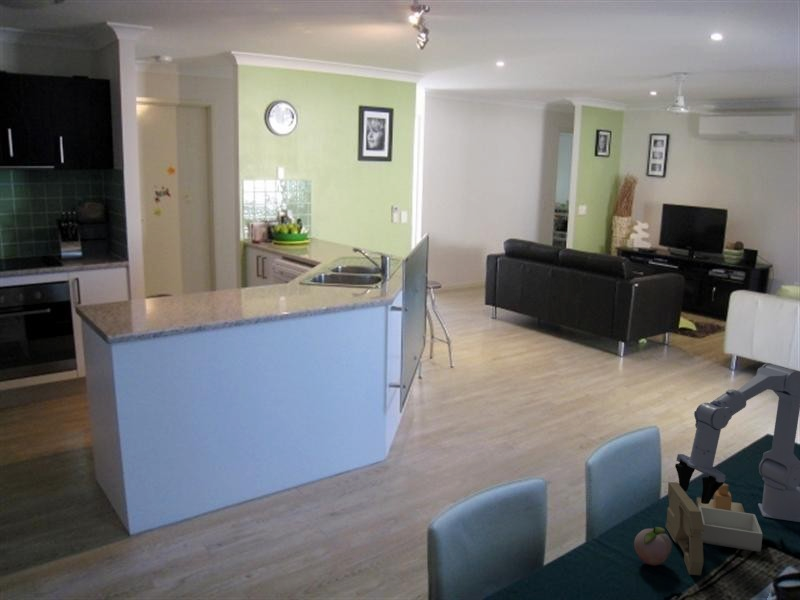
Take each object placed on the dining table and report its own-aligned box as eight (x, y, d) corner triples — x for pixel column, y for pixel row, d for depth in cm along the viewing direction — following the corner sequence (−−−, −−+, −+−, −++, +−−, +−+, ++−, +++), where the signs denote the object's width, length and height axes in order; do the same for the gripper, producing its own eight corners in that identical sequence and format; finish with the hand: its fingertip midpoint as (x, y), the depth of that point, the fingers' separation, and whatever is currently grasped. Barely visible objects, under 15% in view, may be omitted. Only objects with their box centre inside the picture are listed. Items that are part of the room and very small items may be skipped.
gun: (704, 578, 157) (707, 517, 155) (689, 577, 157) (692, 516, 156) (677, 535, 181) (679, 481, 179) (664, 534, 181) (666, 481, 180)
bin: (753, 531, 179) (754, 514, 178) (760, 552, 168) (762, 534, 168) (697, 522, 183) (698, 506, 182) (701, 542, 173) (702, 524, 172)
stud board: (740, 508, 192) (742, 492, 191) (748, 528, 180) (749, 511, 180) (696, 501, 196) (697, 486, 195) (700, 520, 184) (701, 504, 183)
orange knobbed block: (728, 507, 189) (730, 483, 188) (730, 513, 185) (732, 489, 184) (713, 505, 190) (715, 481, 189) (714, 511, 187) (717, 486, 185)
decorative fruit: (640, 550, 169) (643, 514, 167) (673, 562, 164) (676, 525, 162) (627, 566, 162) (629, 529, 160) (661, 579, 156) (664, 540, 155)
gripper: (672, 438, 179) (662, 485, 181) (715, 458, 166) (704, 509, 168) (691, 439, 182) (681, 485, 184) (735, 459, 169) (724, 509, 170)
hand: (693, 497), depth 176 cm, fingers open, 7 cm apart
